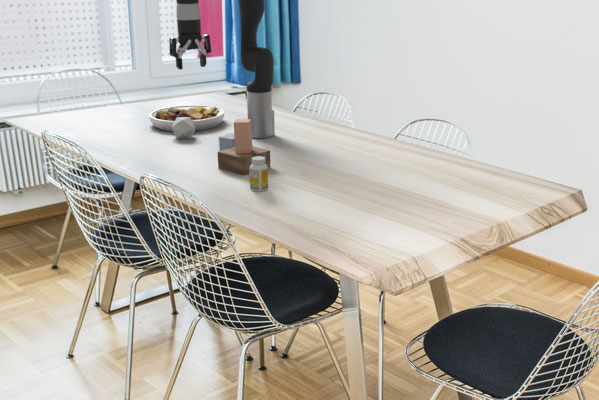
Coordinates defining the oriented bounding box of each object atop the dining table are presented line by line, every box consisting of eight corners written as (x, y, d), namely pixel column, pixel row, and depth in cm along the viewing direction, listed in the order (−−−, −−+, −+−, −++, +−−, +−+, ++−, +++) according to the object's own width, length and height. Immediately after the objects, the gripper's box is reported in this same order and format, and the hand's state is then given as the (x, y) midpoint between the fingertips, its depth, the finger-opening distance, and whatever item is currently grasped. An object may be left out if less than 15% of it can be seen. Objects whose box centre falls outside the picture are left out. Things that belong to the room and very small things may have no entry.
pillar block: (238, 149, 232) (236, 119, 229) (252, 149, 232) (251, 118, 229) (235, 153, 228) (233, 122, 225) (250, 153, 227) (248, 122, 224)
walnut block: (245, 161, 240) (244, 144, 238) (270, 168, 232) (270, 150, 230) (218, 169, 232) (217, 151, 230) (243, 176, 224) (242, 158, 222)
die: (185, 143, 264) (198, 121, 264) (165, 131, 264) (178, 109, 264) (188, 146, 272) (201, 124, 272) (169, 134, 272) (182, 112, 272)
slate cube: (231, 149, 253) (230, 133, 251) (244, 152, 250) (243, 135, 248) (219, 153, 249) (218, 136, 247) (232, 156, 245) (231, 139, 243)
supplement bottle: (251, 192, 208) (250, 161, 205) (249, 186, 213) (247, 156, 210) (269, 191, 209) (268, 159, 206) (266, 185, 214) (266, 154, 211)
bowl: (153, 117, 303) (152, 99, 300) (224, 115, 306) (223, 97, 303) (147, 135, 275) (145, 115, 272) (225, 132, 278) (224, 112, 275)
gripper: (174, 20, 224) (178, 71, 230) (213, 17, 232) (216, 67, 238) (163, 18, 230) (167, 69, 235) (201, 15, 238) (204, 64, 243)
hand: (191, 67), depth 236 cm, fingers open, 8 cm apart
